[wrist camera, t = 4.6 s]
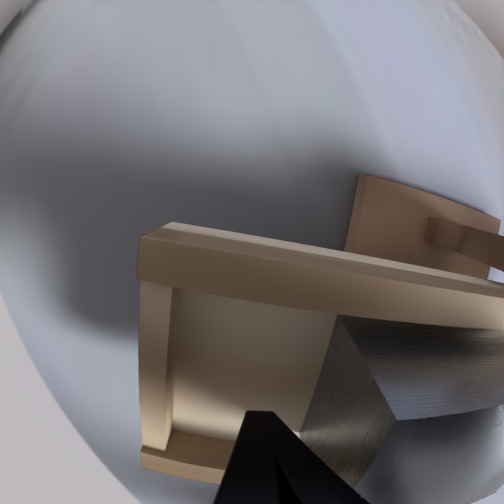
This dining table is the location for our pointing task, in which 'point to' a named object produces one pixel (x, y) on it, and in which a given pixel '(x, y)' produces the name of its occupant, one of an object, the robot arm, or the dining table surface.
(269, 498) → the robot arm
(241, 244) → the beam
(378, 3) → the dining table surface
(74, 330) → the dining table surface
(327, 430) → the block
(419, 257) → the stand
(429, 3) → the dining table surface
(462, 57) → the dining table surface
